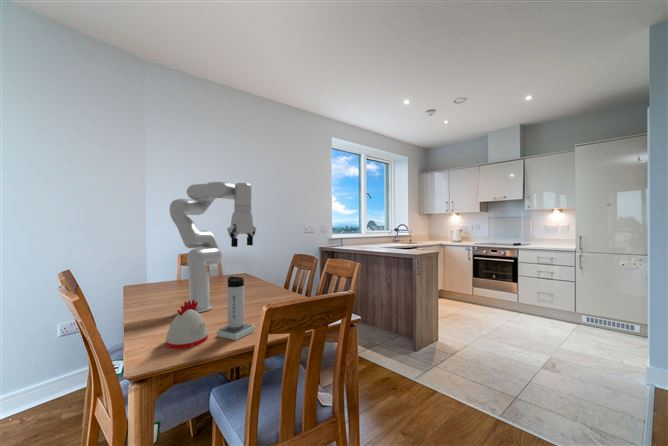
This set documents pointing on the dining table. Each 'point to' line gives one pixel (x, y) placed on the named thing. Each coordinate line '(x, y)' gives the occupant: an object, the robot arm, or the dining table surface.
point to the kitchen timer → (186, 328)
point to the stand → (235, 332)
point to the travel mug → (235, 303)
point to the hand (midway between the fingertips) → (242, 246)
